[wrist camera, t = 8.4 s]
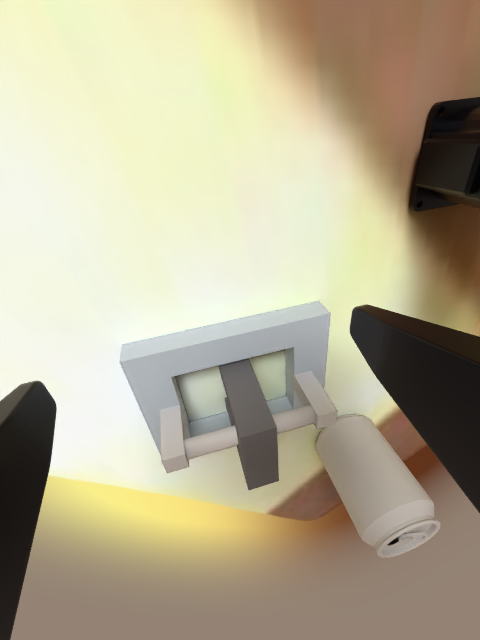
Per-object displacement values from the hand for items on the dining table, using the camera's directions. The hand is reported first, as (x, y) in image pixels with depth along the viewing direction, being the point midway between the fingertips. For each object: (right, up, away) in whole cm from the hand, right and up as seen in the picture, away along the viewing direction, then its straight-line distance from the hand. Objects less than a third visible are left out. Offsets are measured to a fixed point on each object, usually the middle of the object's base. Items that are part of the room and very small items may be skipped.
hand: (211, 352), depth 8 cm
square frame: (0, -5, +18) cm, 19 cm away
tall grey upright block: (0, -5, +18) cm, 19 cm away
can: (+13, -13, +27) cm, 33 cm away
